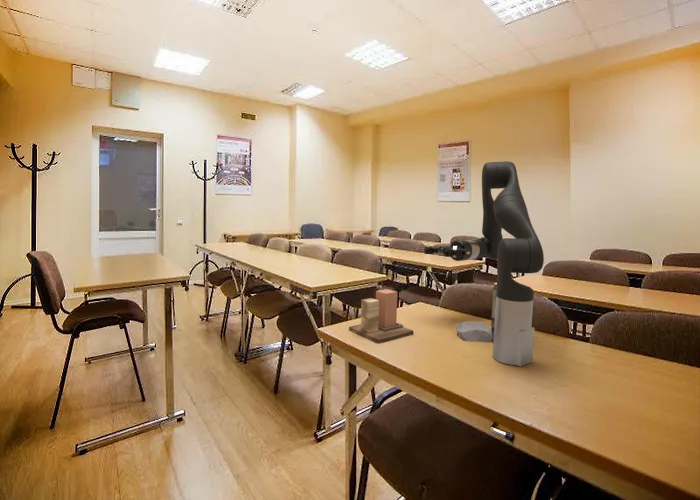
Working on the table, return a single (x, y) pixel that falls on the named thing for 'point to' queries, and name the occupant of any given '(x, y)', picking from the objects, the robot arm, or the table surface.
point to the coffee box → (493, 310)
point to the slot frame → (391, 327)
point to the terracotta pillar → (387, 308)
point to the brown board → (382, 334)
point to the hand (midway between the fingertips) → (435, 252)
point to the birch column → (369, 315)
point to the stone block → (474, 331)
